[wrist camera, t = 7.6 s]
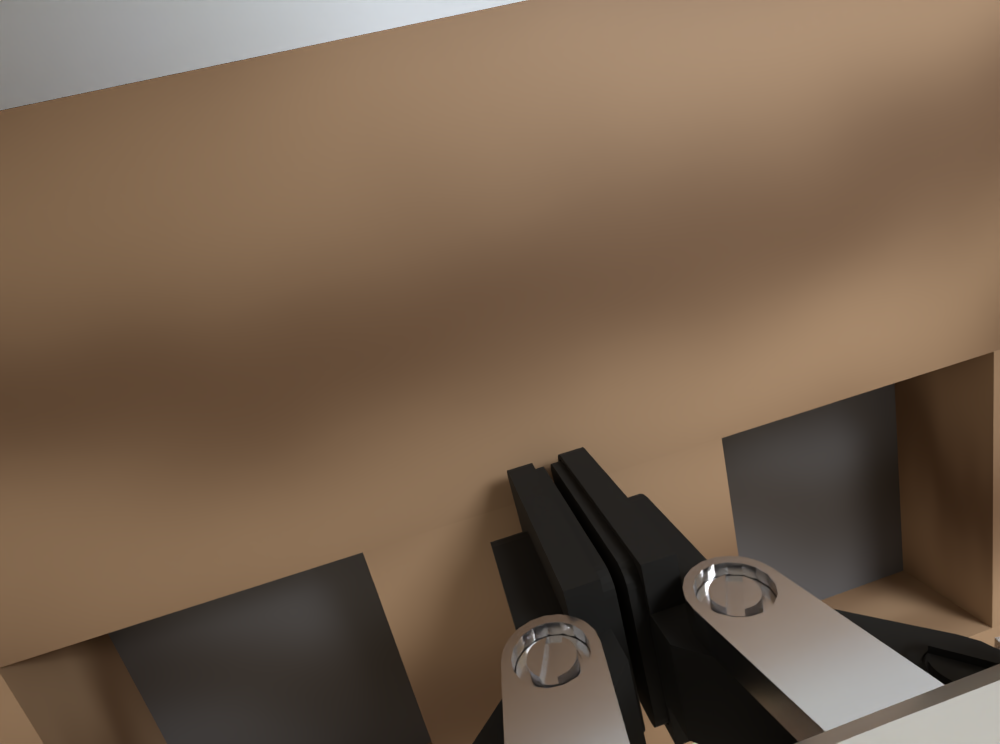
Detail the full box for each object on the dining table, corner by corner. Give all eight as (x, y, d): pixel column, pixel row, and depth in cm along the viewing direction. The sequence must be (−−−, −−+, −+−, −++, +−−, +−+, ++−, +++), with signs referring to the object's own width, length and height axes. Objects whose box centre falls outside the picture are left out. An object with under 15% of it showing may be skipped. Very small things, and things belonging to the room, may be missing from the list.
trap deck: (-170, 206, 10) (-658, 173, 6) (900, -30, 13) (1189, -190, 8) (276, 1002, 17) (227, 1298, 12) (928, 738, 20) (1097, 897, 15)
